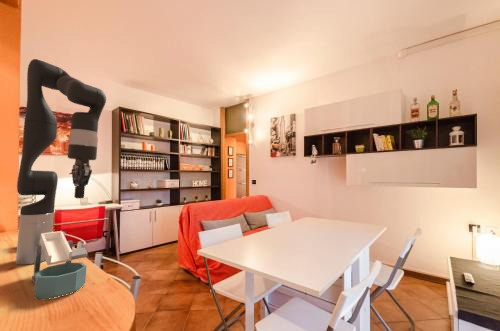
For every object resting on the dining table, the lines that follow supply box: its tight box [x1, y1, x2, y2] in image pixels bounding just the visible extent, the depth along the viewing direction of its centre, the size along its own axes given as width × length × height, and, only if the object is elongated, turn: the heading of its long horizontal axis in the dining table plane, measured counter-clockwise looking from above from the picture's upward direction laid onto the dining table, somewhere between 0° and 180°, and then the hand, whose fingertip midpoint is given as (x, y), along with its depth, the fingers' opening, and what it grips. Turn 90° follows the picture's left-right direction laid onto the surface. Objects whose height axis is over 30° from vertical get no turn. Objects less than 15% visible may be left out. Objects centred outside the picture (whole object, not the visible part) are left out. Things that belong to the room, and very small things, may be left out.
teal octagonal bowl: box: [33, 262, 87, 300], centre depth 62 cm, size 10×10×6 cm
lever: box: [40, 230, 88, 266], centre depth 70 cm, size 15×9×6 cm, turn 50°
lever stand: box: [31, 240, 74, 286], centre depth 69 cm, size 5×9×10 cm, turn 141°
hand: (79, 198), depth 72 cm, fingers closed
